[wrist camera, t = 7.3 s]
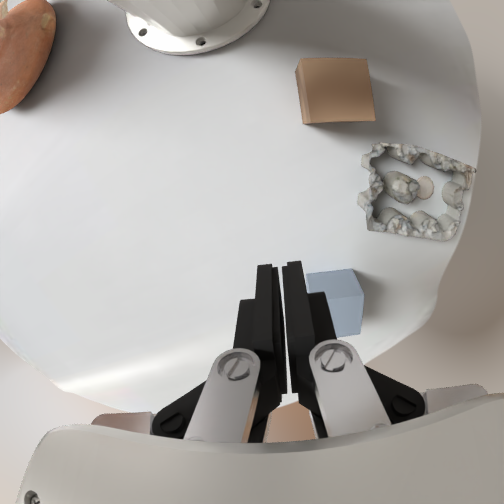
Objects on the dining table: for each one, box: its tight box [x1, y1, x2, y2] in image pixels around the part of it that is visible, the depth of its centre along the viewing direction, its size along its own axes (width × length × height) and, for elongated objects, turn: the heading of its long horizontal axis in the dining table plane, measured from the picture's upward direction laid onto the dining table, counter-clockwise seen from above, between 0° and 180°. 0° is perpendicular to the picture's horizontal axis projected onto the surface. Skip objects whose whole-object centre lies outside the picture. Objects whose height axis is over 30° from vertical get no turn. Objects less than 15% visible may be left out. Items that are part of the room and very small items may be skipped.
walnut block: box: [295, 58, 376, 124], centre depth 16 cm, size 4×4×4 cm
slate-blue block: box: [306, 269, 364, 338], centre depth 24 cm, size 4×4×4 cm
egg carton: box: [357, 143, 476, 241], centre depth 19 cm, size 11×8×4 cm
